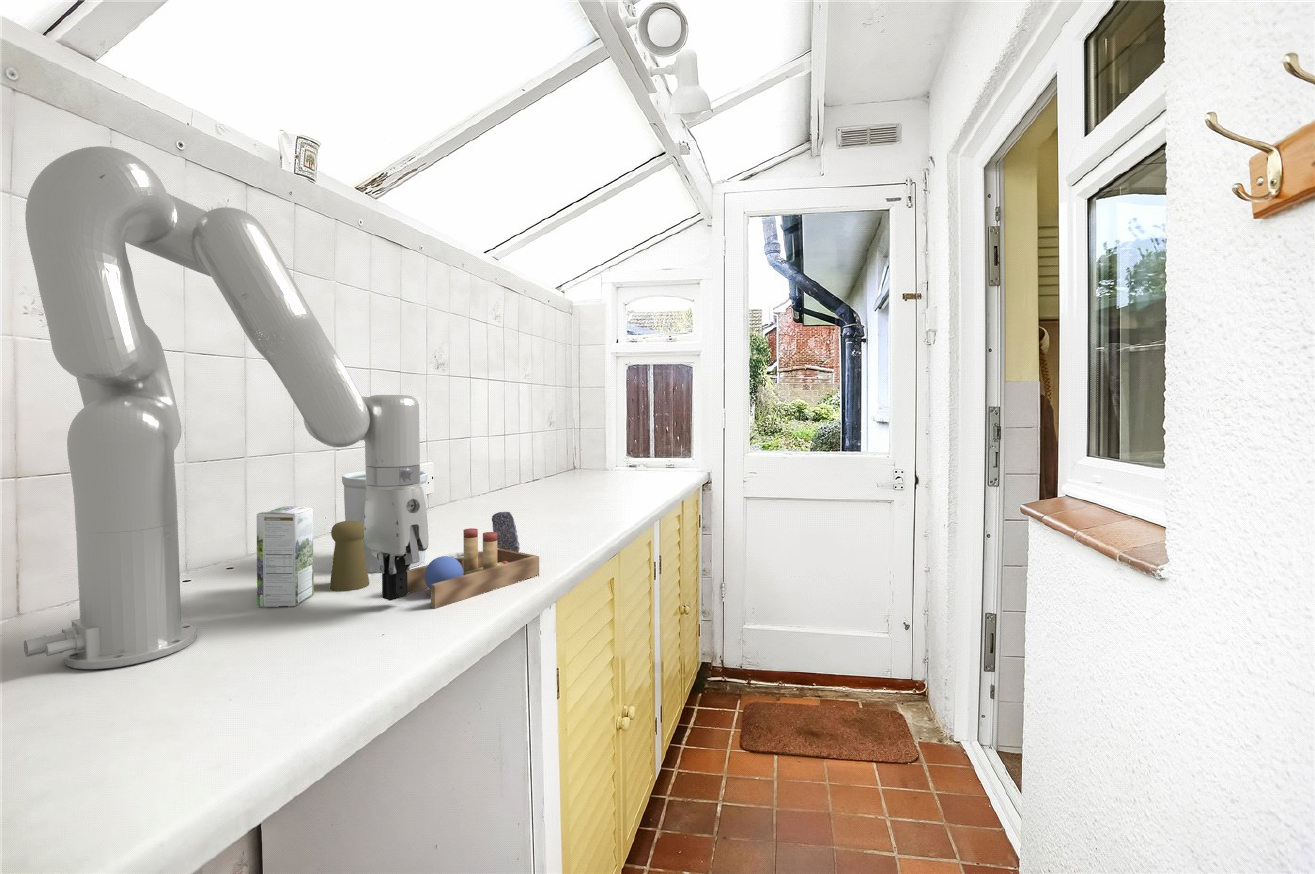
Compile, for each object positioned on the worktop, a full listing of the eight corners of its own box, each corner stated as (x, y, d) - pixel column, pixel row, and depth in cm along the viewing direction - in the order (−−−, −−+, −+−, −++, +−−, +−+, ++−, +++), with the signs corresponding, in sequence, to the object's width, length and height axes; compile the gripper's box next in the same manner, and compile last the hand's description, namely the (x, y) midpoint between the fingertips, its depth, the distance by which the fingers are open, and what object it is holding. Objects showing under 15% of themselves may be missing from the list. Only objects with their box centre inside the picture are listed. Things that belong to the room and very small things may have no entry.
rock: (522, 564, 119) (522, 513, 118) (493, 567, 117) (493, 514, 116) (514, 550, 130) (514, 503, 129) (488, 552, 128) (487, 504, 127)
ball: (476, 565, 102) (462, 600, 100) (453, 558, 105) (439, 592, 103) (449, 555, 97) (434, 593, 95) (425, 548, 100) (410, 584, 99)
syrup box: (277, 596, 98) (274, 506, 97) (315, 595, 98) (313, 505, 98) (256, 608, 92) (253, 512, 92) (297, 607, 93) (295, 512, 92)
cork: (353, 592, 100) (351, 525, 100) (321, 590, 101) (319, 524, 101) (377, 582, 106) (376, 519, 106) (346, 579, 107) (345, 517, 107)
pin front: (472, 573, 103) (511, 562, 111) (462, 570, 105) (501, 559, 112) (471, 587, 104) (510, 575, 111) (462, 584, 105) (501, 572, 112)
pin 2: (489, 587, 104) (489, 535, 103) (480, 584, 105) (479, 533, 105) (500, 583, 106) (500, 533, 105) (491, 581, 107) (490, 531, 107)
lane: (435, 608, 93) (434, 585, 93) (391, 595, 99) (391, 574, 99) (539, 575, 111) (539, 556, 111) (497, 566, 117) (497, 547, 117)
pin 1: (470, 582, 107) (469, 531, 106) (460, 579, 108) (460, 530, 107) (481, 578, 109) (480, 529, 108) (472, 576, 110) (471, 527, 109)
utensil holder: (424, 571, 113) (423, 476, 112) (335, 577, 109) (333, 478, 108) (431, 552, 127) (430, 468, 126) (353, 556, 123) (351, 469, 122)
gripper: (446, 478, 91) (447, 600, 92) (387, 471, 99) (388, 583, 100) (400, 483, 85) (402, 614, 86) (341, 476, 93) (343, 595, 94)
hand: (395, 597), depth 93 cm, fingers closed
